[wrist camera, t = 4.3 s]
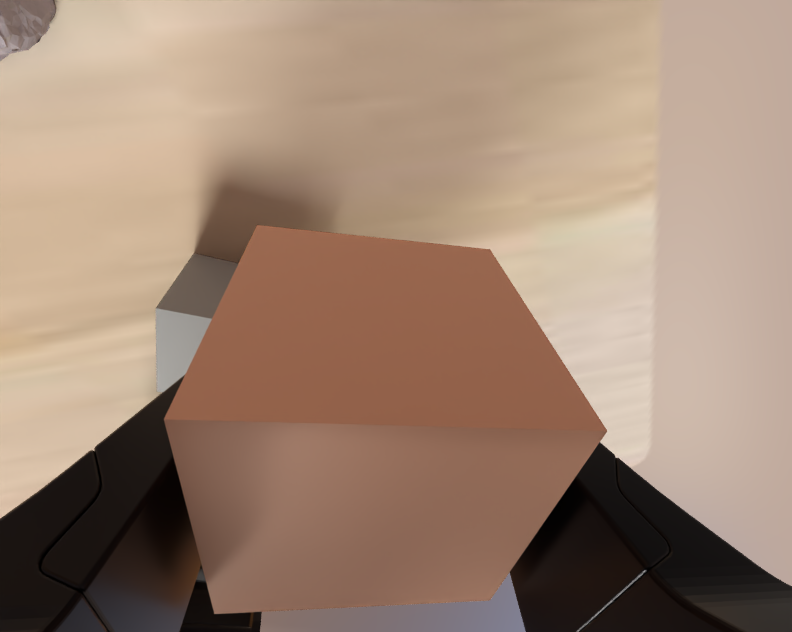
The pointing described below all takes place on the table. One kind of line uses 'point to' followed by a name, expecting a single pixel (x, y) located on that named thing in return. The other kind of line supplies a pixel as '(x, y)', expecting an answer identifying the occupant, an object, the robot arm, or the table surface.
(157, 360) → the slate grey cube
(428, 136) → the table surface
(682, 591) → the robot arm
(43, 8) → the stone block
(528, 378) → the terracotta cube
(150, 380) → the table surface
